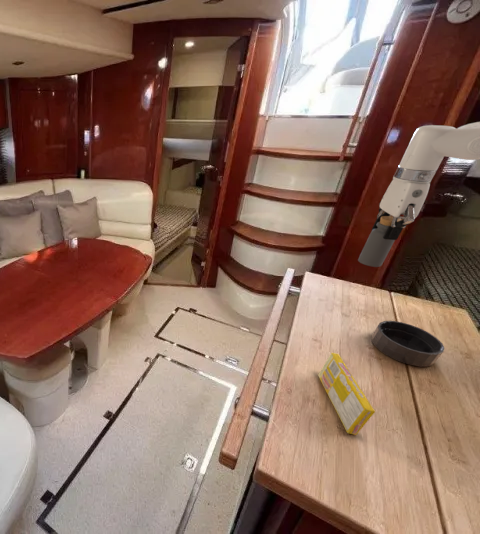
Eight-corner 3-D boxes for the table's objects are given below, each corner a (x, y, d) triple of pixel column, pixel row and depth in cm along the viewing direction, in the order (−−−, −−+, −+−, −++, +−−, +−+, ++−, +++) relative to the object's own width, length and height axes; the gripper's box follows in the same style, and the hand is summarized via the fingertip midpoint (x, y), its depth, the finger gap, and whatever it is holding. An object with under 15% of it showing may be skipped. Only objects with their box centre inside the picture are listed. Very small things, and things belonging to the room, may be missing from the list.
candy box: (358, 436, 64) (376, 412, 60) (346, 433, 65) (363, 409, 61) (326, 376, 78) (339, 353, 74) (316, 374, 78) (329, 351, 74)
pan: (414, 338, 89) (423, 325, 86) (446, 372, 78) (457, 358, 76) (361, 330, 92) (369, 317, 90) (385, 362, 81) (394, 348, 79)
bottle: (360, 256, 101) (380, 213, 94) (383, 262, 97) (406, 218, 90) (355, 262, 98) (376, 218, 91) (379, 269, 94) (403, 223, 87)
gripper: (453, 183, 76) (416, 248, 85) (411, 168, 90) (383, 225, 99) (416, 182, 78) (383, 245, 87) (380, 167, 92) (355, 223, 101)
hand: (383, 234), depth 93 cm, fingers closed on bottle, 5 cm apart
